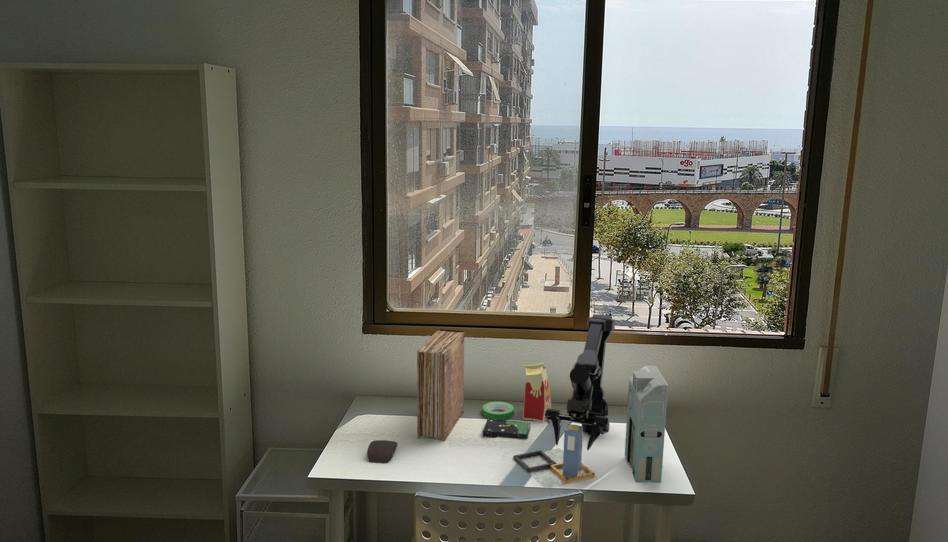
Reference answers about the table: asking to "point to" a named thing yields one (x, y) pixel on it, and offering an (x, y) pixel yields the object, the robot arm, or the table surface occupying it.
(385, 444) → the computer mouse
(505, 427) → the disk drive
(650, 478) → the device
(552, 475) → the panel
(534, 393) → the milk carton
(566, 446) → the plug
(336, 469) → the table surface
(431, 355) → the book
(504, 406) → the tape roll
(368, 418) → the table surface
